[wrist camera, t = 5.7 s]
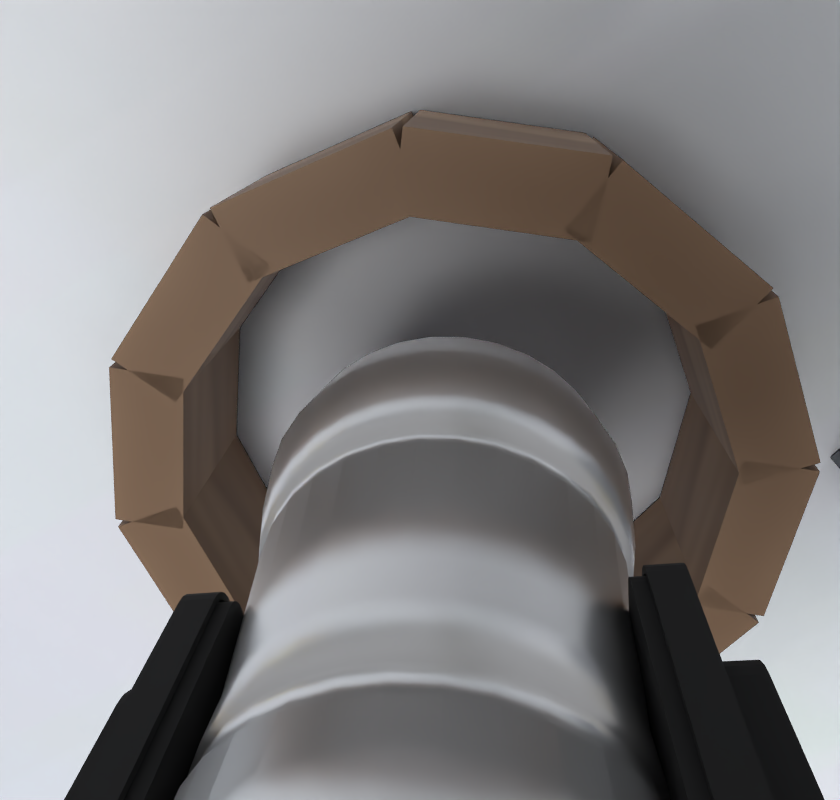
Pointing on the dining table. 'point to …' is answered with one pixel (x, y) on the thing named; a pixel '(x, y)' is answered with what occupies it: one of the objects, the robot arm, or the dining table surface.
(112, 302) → the dining table surface
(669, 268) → the walnut collar
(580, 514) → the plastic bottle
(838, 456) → the charcoal bin
